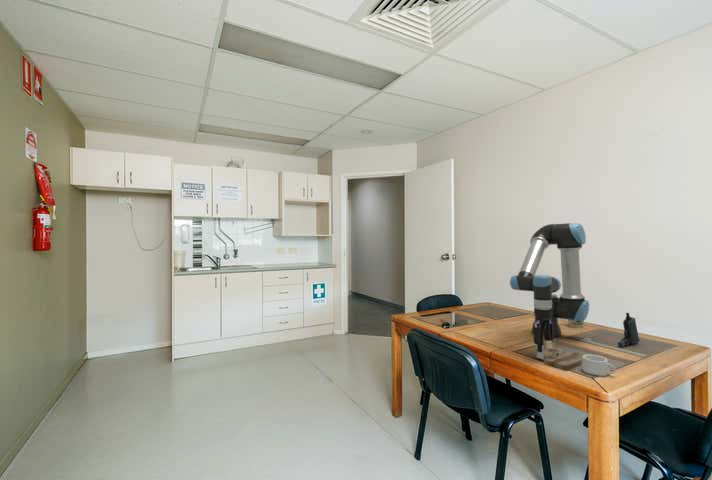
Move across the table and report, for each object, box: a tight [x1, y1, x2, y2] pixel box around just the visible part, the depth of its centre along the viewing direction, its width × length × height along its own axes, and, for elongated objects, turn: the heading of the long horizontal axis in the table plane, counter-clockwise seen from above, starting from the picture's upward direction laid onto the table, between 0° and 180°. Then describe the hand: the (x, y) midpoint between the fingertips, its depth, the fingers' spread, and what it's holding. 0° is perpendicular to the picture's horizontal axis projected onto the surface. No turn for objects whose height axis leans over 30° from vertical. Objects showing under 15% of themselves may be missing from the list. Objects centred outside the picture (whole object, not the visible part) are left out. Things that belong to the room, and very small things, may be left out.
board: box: [543, 350, 584, 372], centre depth 151 cm, size 10×20×2 cm, turn 121°
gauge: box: [535, 338, 563, 359], centre depth 153 cm, size 10×5×8 cm, turn 31°
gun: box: [617, 312, 641, 349], centre depth 170 cm, size 3×17×15 cm
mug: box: [580, 354, 617, 377], centre depth 139 cm, size 12×10×6 cm
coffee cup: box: [567, 319, 585, 329], centre depth 208 cm, size 9×9×12 cm
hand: (544, 357), depth 155 cm, fingers closed on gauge, 5 cm apart
